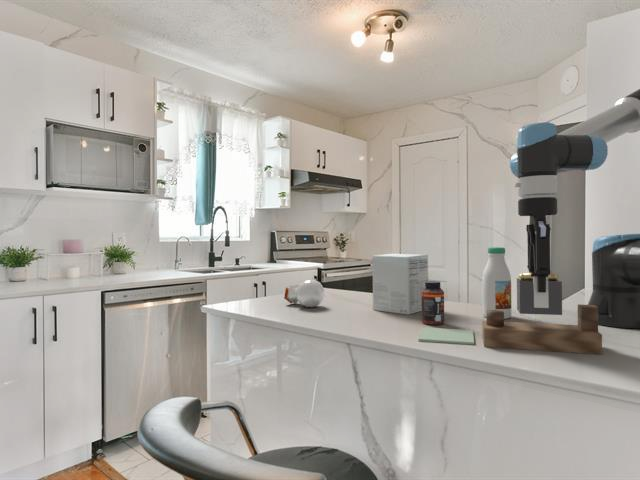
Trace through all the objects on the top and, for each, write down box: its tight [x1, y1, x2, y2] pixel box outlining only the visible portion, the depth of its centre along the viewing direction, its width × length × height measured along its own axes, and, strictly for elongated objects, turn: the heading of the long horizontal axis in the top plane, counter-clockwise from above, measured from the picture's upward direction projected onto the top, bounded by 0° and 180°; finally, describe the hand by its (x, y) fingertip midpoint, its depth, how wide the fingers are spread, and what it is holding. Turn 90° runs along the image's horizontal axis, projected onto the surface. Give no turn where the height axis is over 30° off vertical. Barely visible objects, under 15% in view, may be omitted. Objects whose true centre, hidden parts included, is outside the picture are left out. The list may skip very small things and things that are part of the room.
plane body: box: [482, 304, 603, 355], centre depth 93 cm, size 22×8×9 cm, turn 72°
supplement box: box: [371, 253, 429, 315], centre depth 136 cm, size 13×13×18 cm
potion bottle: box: [284, 278, 325, 308], centre depth 145 cm, size 9×10×15 cm
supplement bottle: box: [421, 280, 445, 326], centre depth 116 cm, size 6×6×11 cm
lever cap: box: [516, 272, 563, 316], centre depth 93 cm, size 8×5×8 cm, turn 72°
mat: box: [417, 326, 475, 346], centre depth 102 cm, size 12×12×1 cm
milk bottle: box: [481, 246, 512, 320], centre depth 123 cm, size 8×8×20 cm
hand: (538, 304), depth 93 cm, fingers closed on lever cap, 5 cm apart
